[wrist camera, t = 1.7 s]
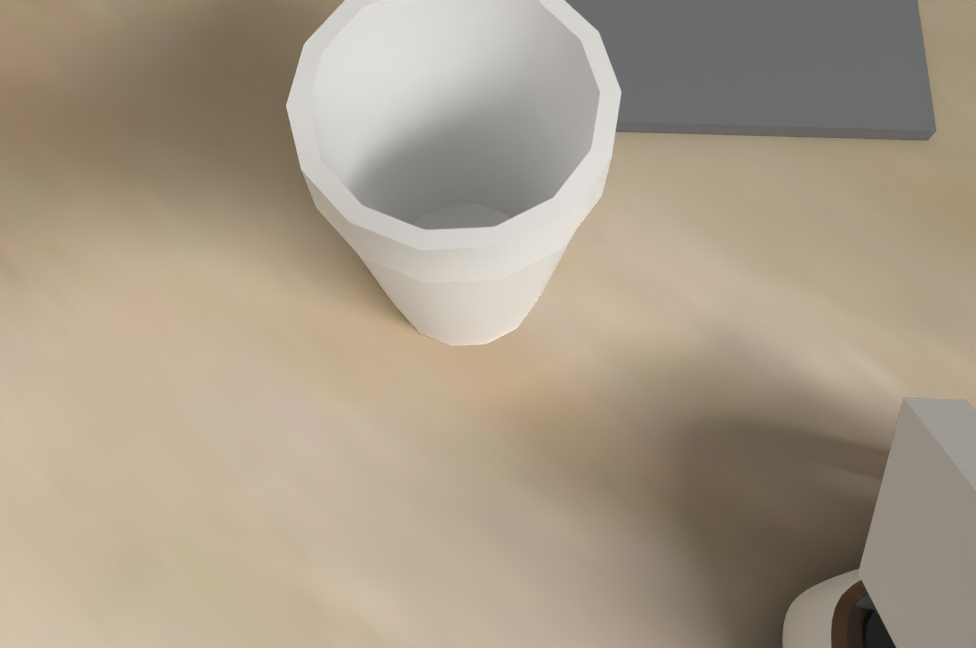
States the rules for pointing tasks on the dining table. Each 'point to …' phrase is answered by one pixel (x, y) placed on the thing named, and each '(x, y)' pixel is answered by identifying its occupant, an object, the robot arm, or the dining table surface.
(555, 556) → the dining table surface
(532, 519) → the dining table surface
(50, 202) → the dining table surface
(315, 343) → the dining table surface
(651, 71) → the rubber mat
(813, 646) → the spread jar
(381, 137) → the foam cup
